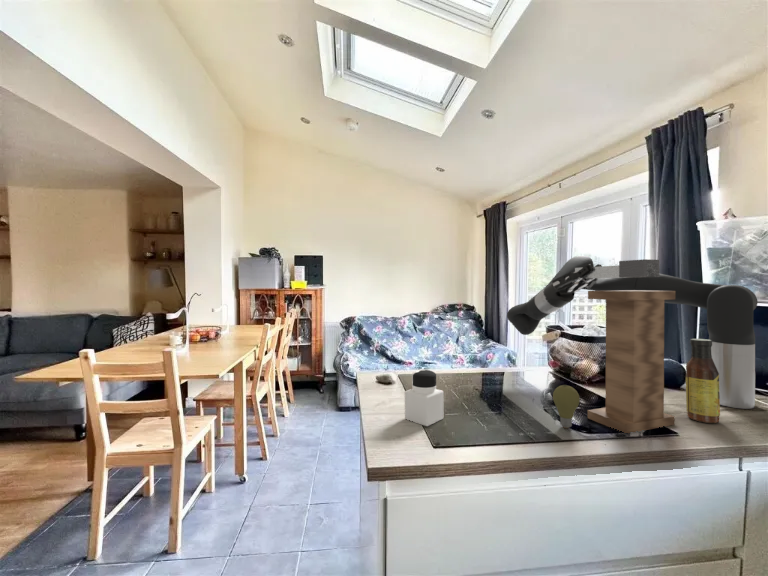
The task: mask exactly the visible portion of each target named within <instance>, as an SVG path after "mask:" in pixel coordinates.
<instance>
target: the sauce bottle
mask: <svg viewBox="0 0 768 576" xmlns="http://www.w3.org/2000/svg"><path fill="white" fill-rule="evenodd" d="M689 341H690V342H689V344H690V346H691V353H690V355H691V356H690V359H689V360H688V362H686V366H685V399H686V400H685V401H686V402H685V403H686V406H685V407H686V414H687V417H688V418H689V419H690V420H693V421H696V422H699V423H705V424H717V423H719V422H720V416H721V405H720V395H719V373H718V370H717V368H716V366H715V364H714V361H713V359H712V355H711V347H712V341H711V340H709V338H708V339H705V338H690V340H689Z"/></svg>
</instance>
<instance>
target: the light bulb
mask: <svg viewBox="0 0 768 576" xmlns="http://www.w3.org/2000/svg"><path fill="white" fill-rule="evenodd" d="M552 399H553V402H554V405H555V406H556V409H557V413H558V415H559V419H560V421H559V424H560V426H562V427H563V428H564V429H569V428H571V427H572V426H573V424H572V423H573V418H574V416H575V415H574V414H575V411H576V410H577V408H578V407H579V405H580V395H579V393H578V391H577V390H576V389H575V388H574V387H573V386H570V385H567V384H562V385H558V386H557V387H556V388H555V389H554V391H553V393H552Z"/></svg>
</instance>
